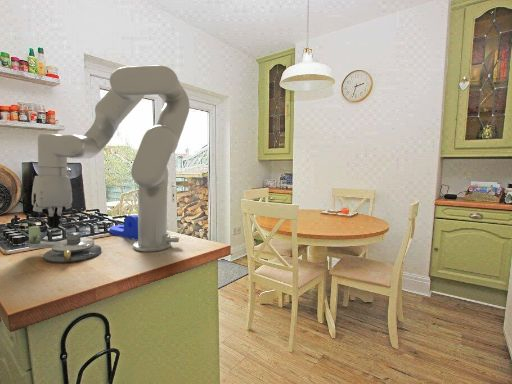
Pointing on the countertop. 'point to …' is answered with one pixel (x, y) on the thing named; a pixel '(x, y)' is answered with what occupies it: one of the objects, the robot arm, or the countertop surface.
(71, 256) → the post base
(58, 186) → the robot arm
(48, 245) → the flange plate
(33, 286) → the countertop surface
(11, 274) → the countertop surface
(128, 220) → the bracket
